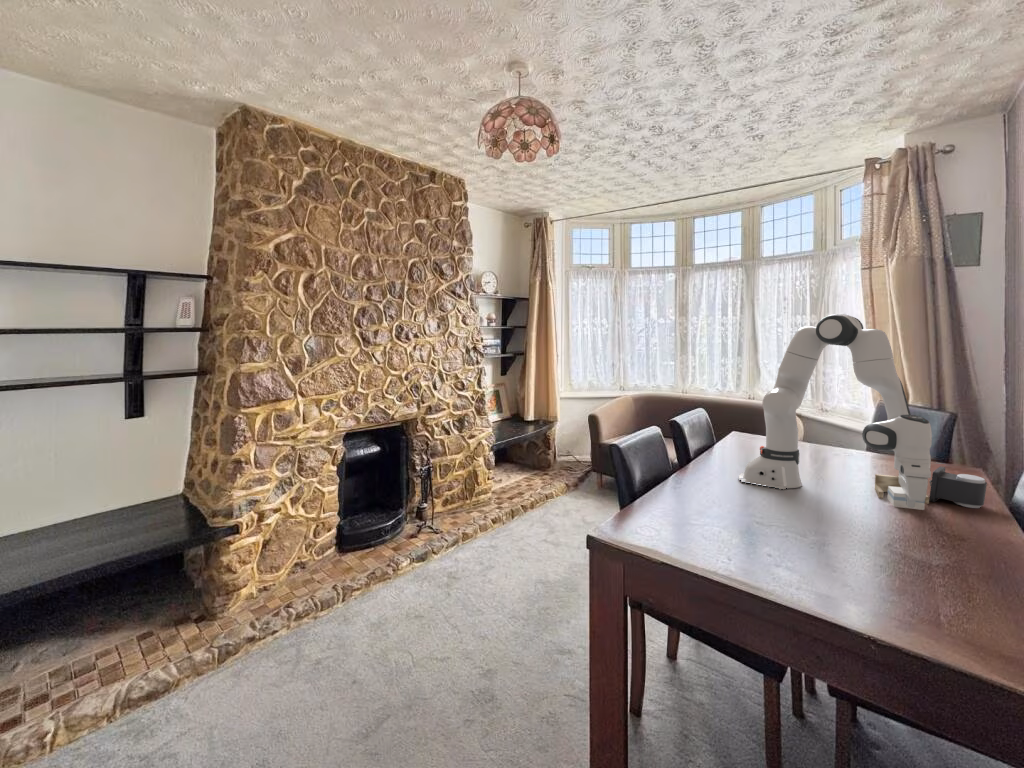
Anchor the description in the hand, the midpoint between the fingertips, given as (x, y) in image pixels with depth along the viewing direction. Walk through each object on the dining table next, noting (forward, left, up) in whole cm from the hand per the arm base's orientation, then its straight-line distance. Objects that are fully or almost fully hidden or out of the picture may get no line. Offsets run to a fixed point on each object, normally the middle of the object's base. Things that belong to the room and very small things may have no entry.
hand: (910, 506), depth 147 cm
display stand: (0, +16, -2) cm, 16 cm away
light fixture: (+15, +17, -2) cm, 23 cm away
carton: (0, +8, -2) cm, 9 cm away
